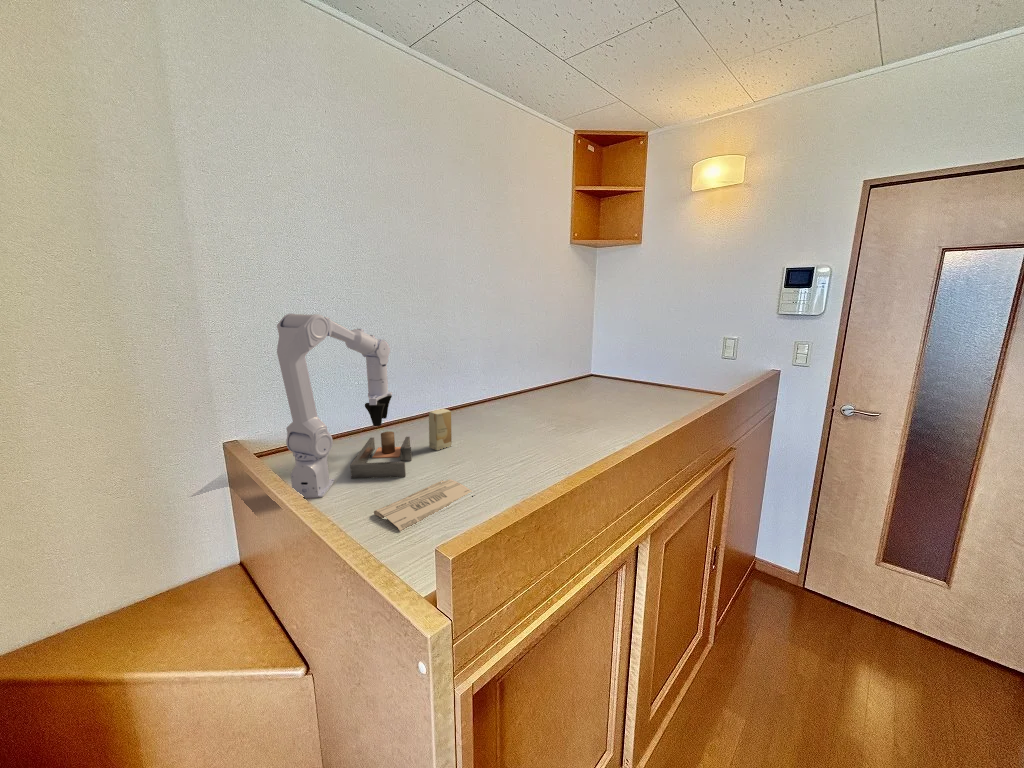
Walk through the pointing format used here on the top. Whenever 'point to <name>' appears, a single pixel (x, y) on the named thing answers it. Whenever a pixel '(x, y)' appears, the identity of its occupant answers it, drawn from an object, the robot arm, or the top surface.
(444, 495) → the newspaper
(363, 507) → the top surface
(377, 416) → the robot arm
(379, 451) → the pad
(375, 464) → the rail channel
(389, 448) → the brown cylinder
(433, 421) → the skincare box
